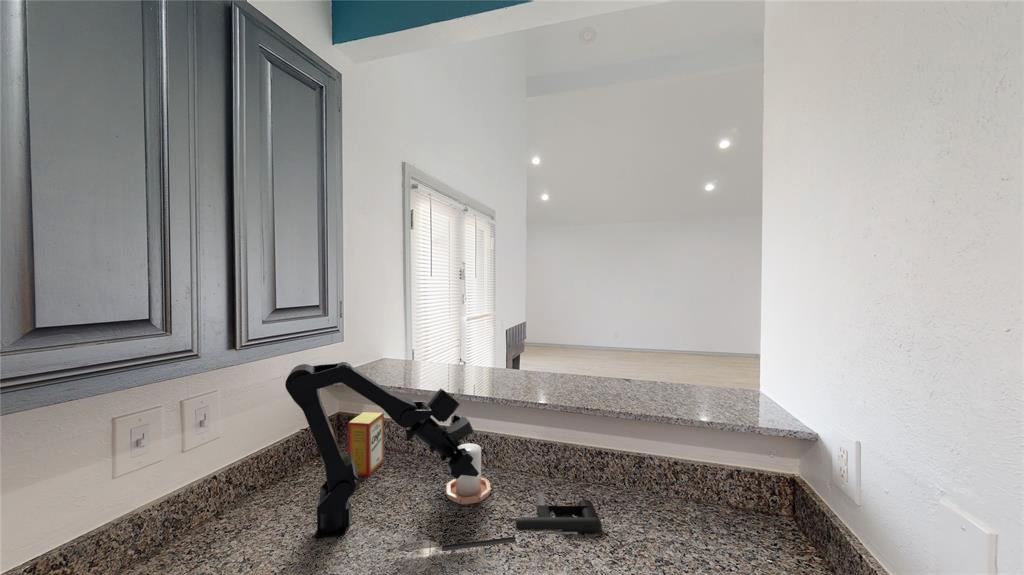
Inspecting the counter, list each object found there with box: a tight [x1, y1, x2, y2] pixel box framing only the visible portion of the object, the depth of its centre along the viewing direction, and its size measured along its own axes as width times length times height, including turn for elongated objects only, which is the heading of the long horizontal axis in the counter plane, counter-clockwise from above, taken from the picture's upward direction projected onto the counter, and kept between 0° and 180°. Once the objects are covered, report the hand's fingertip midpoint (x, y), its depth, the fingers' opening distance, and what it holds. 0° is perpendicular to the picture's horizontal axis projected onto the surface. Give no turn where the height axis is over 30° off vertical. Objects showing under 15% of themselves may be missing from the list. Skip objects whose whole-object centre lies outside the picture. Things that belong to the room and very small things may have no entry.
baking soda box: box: [347, 411, 385, 477], centre depth 115 cm, size 10×6×16 cm
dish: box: [445, 476, 492, 505], centre depth 101 cm, size 12×12×2 cm
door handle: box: [515, 491, 603, 535], centre depth 92 cm, size 3×20×16 cm
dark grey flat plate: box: [441, 536, 516, 552], centre depth 87 cm, size 16×12×1 cm
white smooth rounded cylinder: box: [456, 442, 482, 496], centre depth 100 cm, size 7×7×11 cm
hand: (473, 468), depth 101 cm, fingers closed on white smooth rounded cylinder, 7 cm apart
